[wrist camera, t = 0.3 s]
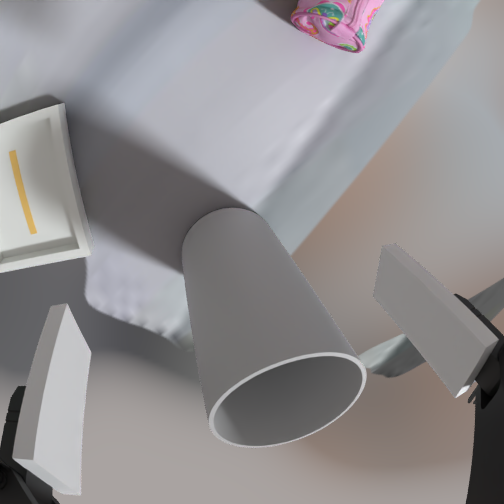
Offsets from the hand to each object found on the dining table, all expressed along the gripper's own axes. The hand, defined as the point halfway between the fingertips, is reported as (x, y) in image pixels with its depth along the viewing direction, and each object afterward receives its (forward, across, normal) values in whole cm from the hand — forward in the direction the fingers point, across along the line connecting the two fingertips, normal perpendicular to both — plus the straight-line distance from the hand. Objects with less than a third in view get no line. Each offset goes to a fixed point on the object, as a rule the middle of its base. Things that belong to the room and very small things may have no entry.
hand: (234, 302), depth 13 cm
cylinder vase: (+28, +4, -14) cm, 31 cm away
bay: (+27, -21, 0) cm, 35 cm away
